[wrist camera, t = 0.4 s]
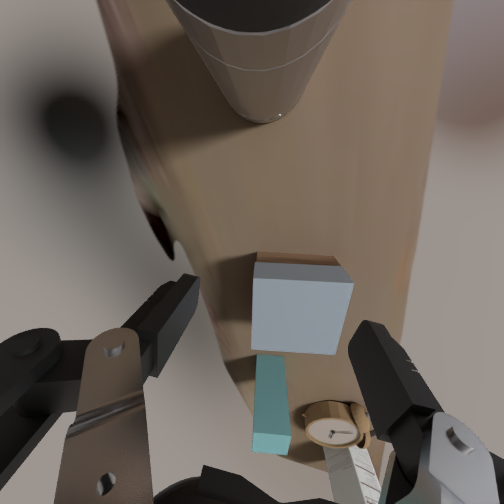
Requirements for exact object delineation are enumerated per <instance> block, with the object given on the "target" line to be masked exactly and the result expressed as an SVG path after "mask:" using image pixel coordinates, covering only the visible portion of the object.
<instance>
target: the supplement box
mask: <svg viewBox="0 0 504 504" xmlns="http://www.w3.org/2000/svg"><path fill="white" fill-rule="evenodd" d="M323 450H324V455H325V459H326V464H327V469H328V474H329V478H330V483H331V488H332V493H333V497H334V502H335V503H339V504H378V502H379V498H380V494H381V488H380V485H379V482H378V479H377V476H376V473H375V470H374V468H373V465H372V462H371V459H370V457H369V454H368V451H367V448H365V449H360V448H359V447H358V446H357V445H355V446H352V447H348V448H329V447H325V446H323Z"/></svg>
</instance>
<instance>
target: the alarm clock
mask: <svg viewBox="0 0 504 504" xmlns="http://www.w3.org/2000/svg"><path fill="white" fill-rule="evenodd" d="M302 416H304V418H305V427H306V434H307V436H308V438H309V439H311V440H312V441H313V442H315V443H317V444H319V445H321V446H325V447H329V448H348V447H352V446H355V445H357V446H358V447H359V448H360V449H365V448H367V447H368V446H369V444H370V439H371V437H374V436H376V434H375V431H374V430H372V431H369V429H370V421H369V419H370V416H369V413H366V411H365V410H364V409H363V407H362V406H360V405H359V404H357V403H352V404H351V407H350V406H348V405H346V404H343V403H340V402H334V401H322V402H317V403H314V404H312V405H311V406H310V407H308V408H307V410H306V411H305V414H304V413H302ZM370 420H371V419H370Z"/></svg>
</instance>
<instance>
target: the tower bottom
mask: <svg viewBox="0 0 504 504" xmlns="http://www.w3.org/2000/svg"><path fill="white" fill-rule="evenodd" d="M256 262H265V263H286V264H307V265H327V266H341V265H340V264H339V263H338V261H337V260H336V259H335V257H334V256H319V255H302V254H286V253H269V252H257V261H256Z"/></svg>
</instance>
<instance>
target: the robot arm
mask: <svg viewBox="0 0 504 504" xmlns="http://www.w3.org/2000/svg"><path fill="white" fill-rule="evenodd" d="M351 1H352V0H166V2H167V3H168V5H169V7H170V8H171V10H172V11H173V13H174V15H175V16H176V18H177V19H178V21H179V22H180V24H181V26H182V27H183V29H184V31H185V32H186V34H187V36H188V37H189V39H190V41H191V42H192V44H193V45H194V47H195V49H196V50H197V52H198V54H199V55H200V57H201V59H202V60H203V62H204V64H205V65H206V67H207V69H208V70H209V72H210V74H211V75H212V77H213V78H214V80H215V82H216V83H217V85H218V87H219V88H220V90H221V92H222V93H223V95H224V96H225V98H226V100H227V101H228V103H229V105H230V106H231V107H232V108H233V110H234V111H235V112H236V113H237V114H238V115H240V116H241V117H242V118H244V119H246V120H248V121H251V122H255V123H270V122H273V121H276V120H278V119H280V118H281V117H283V116H285V115H286V114H287V113H288V112H289V111H290V110H291V109H292V108H293V107H294V106H295V104H296V103H297V101H298V100H299V98H300V97H301V95H302V93H303V91H304V89H305V87H306V86H307V84H308V82H309V80H310V78H311V76H312V74H313V72H314V70H315V69H316V67H317V65H318V63H319V61H320V59H321V57H322V55H323V53H324V52H325V50H326V48H327V46H328V44H329V42H330V40H331V38H332V36H333V35H334V33H335V31H336V29H337V27H338V25H339V23H340V21H341V19H342V18H343V16H344V14H345V12H346V10H347V8H348V6H349V4H350V2H351ZM199 287H200V277H197V276H193V275H189V274H183V275H182V276H181V278H180V279H179V280H178V281H177V282H174V281H169V282H167V283H165V284H163V285H161V286H160V287H159V288H158V289H157V290H156V291H155V292H154V294H153V295H151V296H150V297H149V298H148V300H147V301H146V302H144V304H143V305H142V306H141V307H140V308H139V309H138V310H137V311H136V312H135V313H134V314H133V315H132V316H131V317H130V318H129V319H128V320H127V321H126V322H125V323H124V324H123V326H121V327H120V328H114V329H111V330H108V331H105V332H103V333H101V334H99V335H98V336H97V337H95V338H94V339H92V340H65V341H61V339H60V336H59V334H58V332H57V331H55V330H53V329H49V328H37V329H32V330H28V331H25V332H22V333H19V334H17V335H14V336H12V337H10V338H8V339H7V340H5V341H3V342H2V343H0V490H1V489H2V488H3V487H4V485H5V484H6V483H7V482H8V480H9V479H10V478H11V477H12V475H13V474H14V473H15V472H16V471H17V469H18V468H19V467H20V465H21V464H22V463H23V462H24V461H25V459H26V458H27V457H28V456H29V454H30V453H31V452H32V451H33V449H34V448H35V447H36V446H37V444H38V443H39V442H40V441H41V439H42V438H43V437H44V436H45V434H46V433H47V432H48V431H49V429H50V428H51V427H52V426H53V424H54V423H55V422H56V420H57V419H58V418H59V417H60V416H61V414H62V413H64V412H73V411H77V412H76V418H75V421H74V423H73V424H71V425H70V427H69V428H68V431H67V434H66V438H65V442H64V447H63V453H62V459H61V465H60V470H59V476H58V481H57V488H56V493H55V499H54V504H339V503H335V502H332V501H328V500H325V499H321V498H318V499H310V500H303V501H296V502H288V503H280V502H278V501H276V500H274V499H273V498H272V497H270V496H269V495H268V494H266V493H265V492H263V491H262V490H261V489H259V488H258V487H256V486H255V485H253V484H252V483H251V482H249V481H248V480H246V479H245V478H244V477H242V476H241V475H237V474H234V473H230V472H227V471H223V470H220V469H216V468H212V467H209V466H206V465H203V469H202V473H201V476H199V477H191V478H188V479H184V480H181V481H179V482H177V483H174V484H172V485H170V486H169V487H167V488H166V489H164V490H163V491H161V492H159V493H158V494H157V495H156V496H155V497H153V489H152V478H151V467H150V455H149V444H148V433H147V421H146V410H145V400H144V392H143V384H144V383H145V381H146V379H147V377H148V376H153V377H156V378H157V377H158V376H159V374H160V373H161V371H162V369H163V367H164V365H165V364H166V362H167V360H168V359H169V357H170V355H171V353H172V351H173V350H174V348H175V346H176V344H177V343H178V341H179V339H180V337H181V336H182V334H183V332H184V330H185V329H186V327H187V325H188V323H189V322H190V320H191V318H192V316H193V315H194V313H195V310H196V307H197V303H198V296H199ZM348 354H349V358H350V361H351V364H352V366H353V369H354V372H355V375H356V378H357V381H358V384H359V387H360V390H361V393H362V396H363V399H364V401H365V404H366V407H367V410H368V413H369V416H370V419H371V422H372V425H373V428H374V431H375V434H376V436H377V439H379V440H382V441H386V442H389V443H392V445H393V448H394V450H393V451H392V452H391V454H390V456H389V461H388V465H387V469H386V473H385V478H384V481H383V485H382V489H381V494H380V498H379V502H378V504H504V459H502V458H500V457H498V456H497V455H495V454H493V453H491V452H489V451H488V450H487V448H486V447H485V445H484V444H483V443H482V442H481V440H480V439H479V438H478V437H477V435H476V434H475V433H474V432H473V431H472V430H471V429H470V428H468V427H467V426H466V425H465V424H464V423H462V422H461V421H460V420H458V419H457V418H455V417H453V416H451V415H449V414H447V413H445V412H444V411H443V409H442V408H441V406H440V404H439V403H438V401H437V400H436V398H435V397H434V395H433V394H432V392H431V390H430V389H429V387H428V386H427V384H426V383H425V381H424V380H423V378H422V376H421V375H420V374H419V373H418V372H417V371H418V370H417V369H416V367H415V366H414V364H413V363H411V359H410V358H409V356H408V355H407V353H406V352H405V350H404V349H403V348H402V347H401V346H400V345H399V344H398V343H397V342H396V341H395V340H394V339H393V338H392V337H391V336H390V334H389V332H388V331H387V329H386V328H385V326H384V325H383V324H379V323H376V322H372V321H368V320H364V321H362V322H361V324H360V325H359V327H358V329H357V330H356V332H355V334H354V335H353V337H352V339H351V340H350V342H349V345H348Z"/></svg>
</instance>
